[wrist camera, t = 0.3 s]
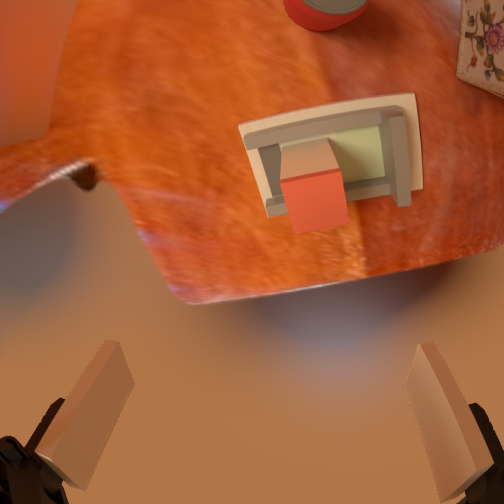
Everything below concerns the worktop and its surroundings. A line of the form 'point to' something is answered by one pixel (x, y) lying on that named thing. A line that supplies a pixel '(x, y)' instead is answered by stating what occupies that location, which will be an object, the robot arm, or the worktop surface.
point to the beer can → (324, 12)
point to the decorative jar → (482, 45)
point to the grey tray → (344, 146)
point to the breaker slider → (312, 186)
